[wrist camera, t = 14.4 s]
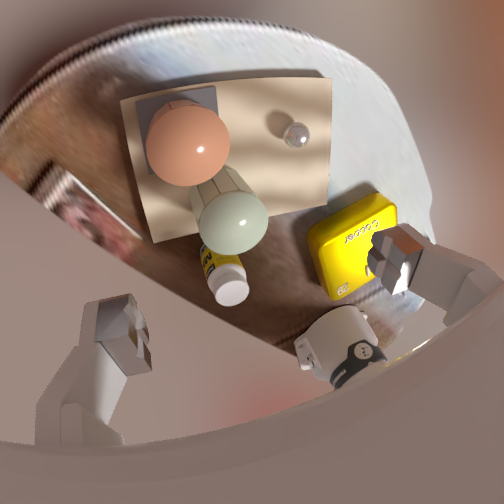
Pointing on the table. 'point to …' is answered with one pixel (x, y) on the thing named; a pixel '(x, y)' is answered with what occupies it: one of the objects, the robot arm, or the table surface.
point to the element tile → (348, 244)
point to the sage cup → (228, 213)
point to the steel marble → (296, 135)
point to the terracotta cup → (186, 143)
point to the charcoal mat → (153, 104)
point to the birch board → (247, 148)
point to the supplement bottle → (224, 276)
